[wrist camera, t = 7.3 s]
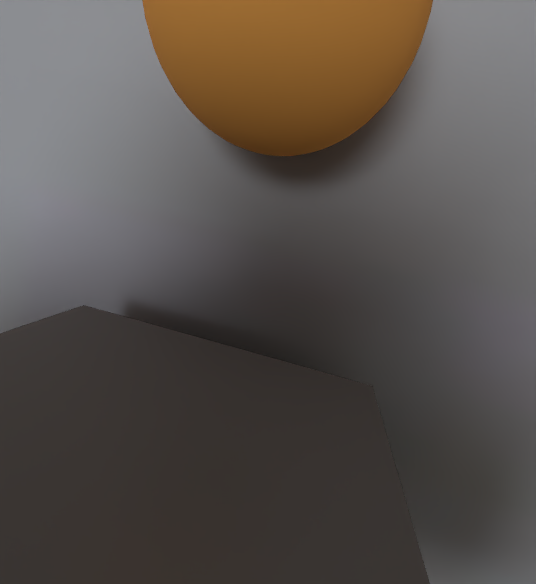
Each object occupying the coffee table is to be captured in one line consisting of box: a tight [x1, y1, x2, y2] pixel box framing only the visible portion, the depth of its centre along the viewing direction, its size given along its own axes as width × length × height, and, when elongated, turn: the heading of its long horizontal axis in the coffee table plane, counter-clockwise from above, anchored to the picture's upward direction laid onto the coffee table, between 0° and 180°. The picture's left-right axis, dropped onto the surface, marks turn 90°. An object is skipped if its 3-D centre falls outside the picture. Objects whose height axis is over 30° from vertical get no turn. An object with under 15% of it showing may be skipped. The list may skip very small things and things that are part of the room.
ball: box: [142, 0, 433, 156], centre depth 6 cm, size 5×5×5 cm
